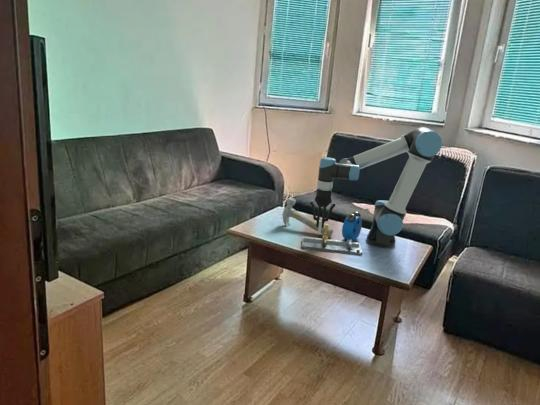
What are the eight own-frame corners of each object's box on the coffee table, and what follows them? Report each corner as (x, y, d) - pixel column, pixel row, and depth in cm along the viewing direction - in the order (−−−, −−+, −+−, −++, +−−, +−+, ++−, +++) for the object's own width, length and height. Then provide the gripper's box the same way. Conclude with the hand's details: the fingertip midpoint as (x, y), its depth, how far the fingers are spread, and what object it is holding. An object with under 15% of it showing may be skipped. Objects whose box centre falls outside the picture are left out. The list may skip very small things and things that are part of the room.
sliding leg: (326, 240, 230) (329, 223, 227) (327, 246, 222) (329, 228, 220) (322, 240, 230) (324, 222, 227) (322, 245, 223) (324, 227, 220)
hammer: (337, 220, 238) (290, 196, 250) (334, 222, 235) (286, 198, 246) (328, 244, 244) (282, 221, 256) (324, 247, 240) (278, 223, 252)
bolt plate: (359, 246, 230) (360, 243, 229) (362, 255, 219) (362, 251, 219) (302, 240, 232) (302, 237, 231) (301, 248, 221) (301, 244, 221)
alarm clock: (350, 234, 246) (353, 209, 242) (360, 237, 243) (364, 211, 239) (340, 240, 236) (343, 214, 232) (350, 244, 233) (354, 216, 228)
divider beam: (358, 245, 229) (359, 239, 228) (359, 250, 221) (360, 245, 221) (304, 239, 230) (304, 233, 230) (303, 244, 223) (304, 239, 222)
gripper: (337, 188, 224) (331, 232, 230) (311, 185, 224) (306, 229, 231) (338, 192, 216) (332, 237, 223) (311, 189, 217) (306, 234, 224)
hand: (319, 233), depth 227 cm, fingers closed
